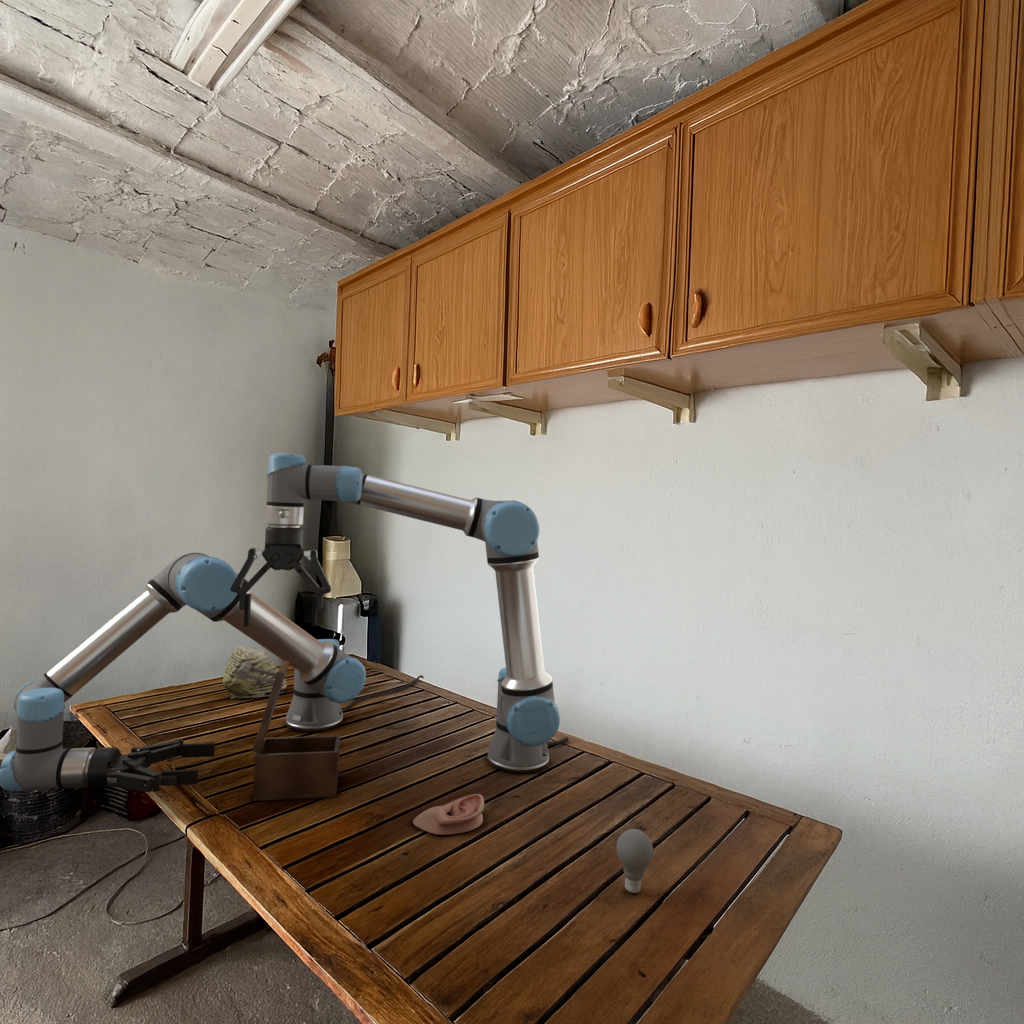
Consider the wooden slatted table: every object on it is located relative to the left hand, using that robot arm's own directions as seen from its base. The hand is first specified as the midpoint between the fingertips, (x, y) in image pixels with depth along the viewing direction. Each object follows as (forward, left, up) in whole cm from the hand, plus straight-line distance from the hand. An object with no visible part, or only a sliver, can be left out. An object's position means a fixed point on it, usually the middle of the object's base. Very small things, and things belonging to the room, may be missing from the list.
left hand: (206, 762), depth 133 cm
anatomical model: (-27, +45, -7) cm, 53 cm away
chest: (-14, +12, -7) cm, 20 cm away
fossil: (-41, -53, -7) cm, 67 cm away
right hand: (-11, +9, +29) cm, 32 cm away
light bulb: (-31, +83, -7) cm, 89 cm away
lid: (-10, +8, +12) cm, 18 cm away
